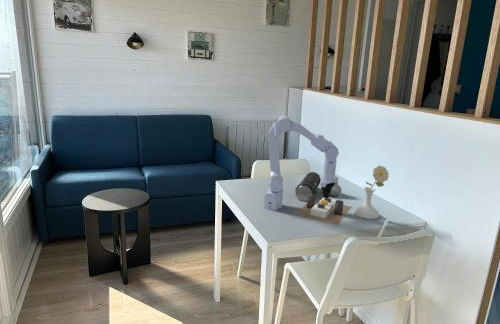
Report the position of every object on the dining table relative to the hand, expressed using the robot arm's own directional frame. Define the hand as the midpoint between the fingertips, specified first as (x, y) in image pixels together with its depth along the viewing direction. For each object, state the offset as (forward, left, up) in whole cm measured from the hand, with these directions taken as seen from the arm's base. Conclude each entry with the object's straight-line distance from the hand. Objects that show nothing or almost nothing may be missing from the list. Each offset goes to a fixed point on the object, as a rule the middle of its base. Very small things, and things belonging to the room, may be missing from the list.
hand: (326, 197), depth 171 cm
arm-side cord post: (-2, +7, -6) cm, 9 cm away
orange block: (-2, 0, -3) cm, 3 cm away
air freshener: (+26, +5, -7) cm, 27 cm away
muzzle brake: (+17, +21, -3) cm, 27 cm away
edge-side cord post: (-2, -7, -6) cm, 9 cm away
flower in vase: (+5, -19, -7) cm, 21 cm away
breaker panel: (-2, 0, -7) cm, 7 cm away
